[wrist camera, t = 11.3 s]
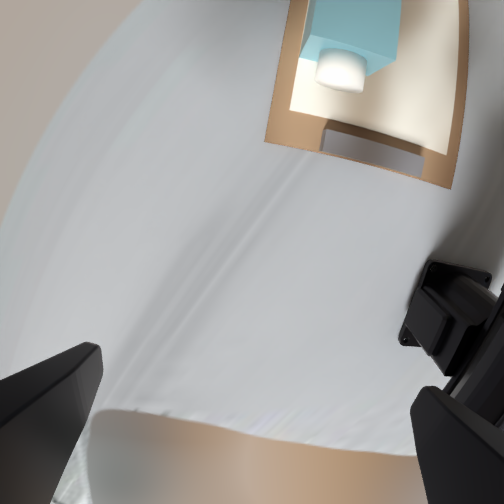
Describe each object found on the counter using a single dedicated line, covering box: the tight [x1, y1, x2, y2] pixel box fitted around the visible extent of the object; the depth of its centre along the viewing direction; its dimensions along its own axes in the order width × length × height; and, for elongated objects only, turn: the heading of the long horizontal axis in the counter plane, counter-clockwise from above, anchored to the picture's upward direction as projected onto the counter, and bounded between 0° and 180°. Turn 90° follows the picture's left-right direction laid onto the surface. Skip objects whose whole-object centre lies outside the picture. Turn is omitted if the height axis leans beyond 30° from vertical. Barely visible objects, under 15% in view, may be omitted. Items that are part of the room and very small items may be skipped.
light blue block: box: [299, 0, 402, 93], centre depth 12 cm, size 10×4×4 cm, turn 170°
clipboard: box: [264, 0, 469, 190], centre depth 14 cm, size 12×15×1 cm
